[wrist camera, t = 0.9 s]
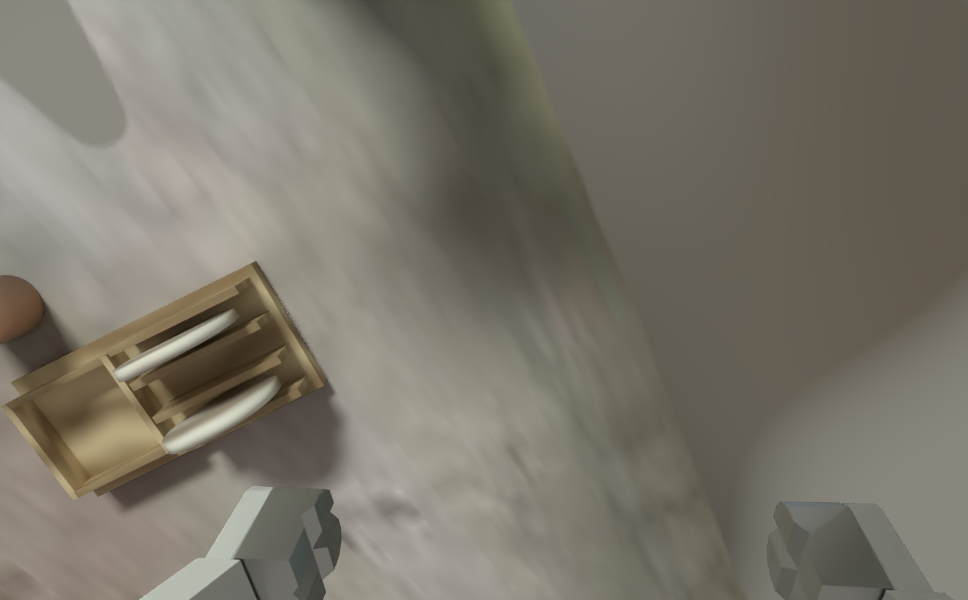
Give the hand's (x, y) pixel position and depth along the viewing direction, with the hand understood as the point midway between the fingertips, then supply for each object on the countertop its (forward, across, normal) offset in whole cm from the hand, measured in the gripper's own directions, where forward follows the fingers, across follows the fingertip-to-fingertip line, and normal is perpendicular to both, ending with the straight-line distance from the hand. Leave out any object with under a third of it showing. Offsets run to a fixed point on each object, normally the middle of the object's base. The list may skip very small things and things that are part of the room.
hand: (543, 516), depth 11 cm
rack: (+33, +35, +22) cm, 53 cm away
